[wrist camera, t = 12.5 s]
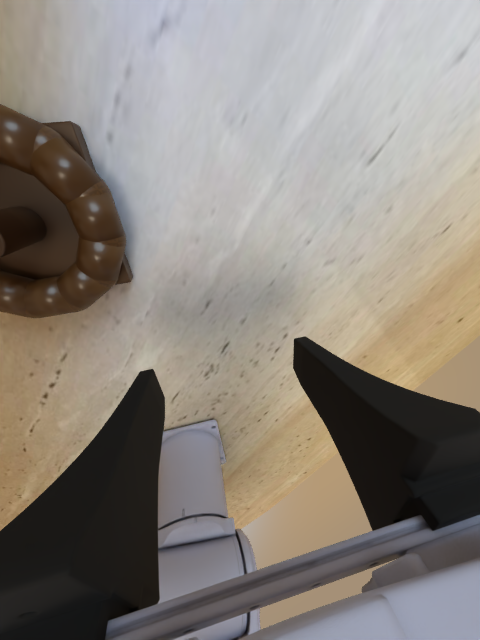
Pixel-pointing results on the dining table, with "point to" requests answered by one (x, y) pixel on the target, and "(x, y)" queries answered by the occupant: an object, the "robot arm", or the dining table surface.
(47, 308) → the segmented ring
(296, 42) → the dining table surface
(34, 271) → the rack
